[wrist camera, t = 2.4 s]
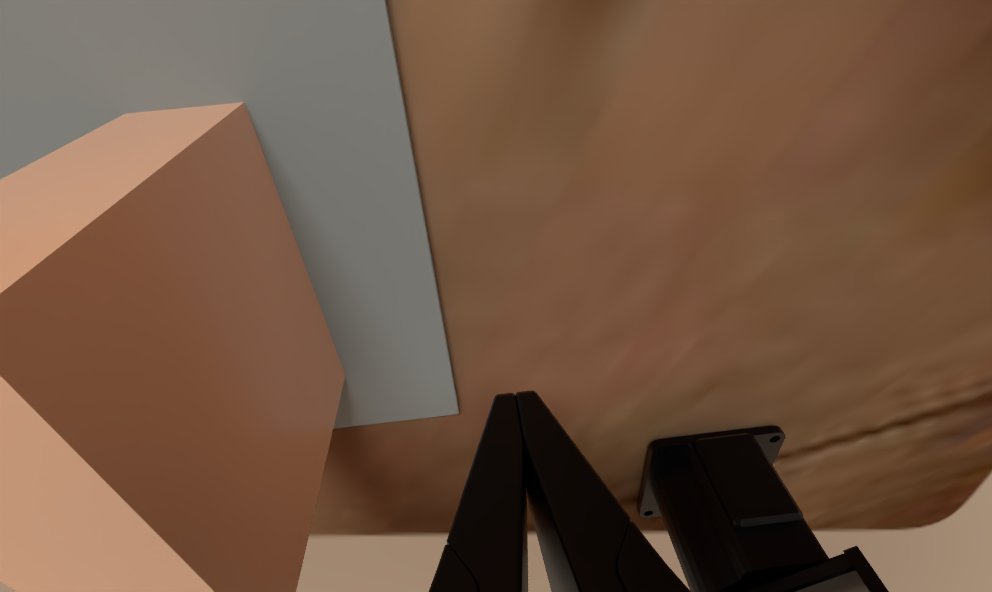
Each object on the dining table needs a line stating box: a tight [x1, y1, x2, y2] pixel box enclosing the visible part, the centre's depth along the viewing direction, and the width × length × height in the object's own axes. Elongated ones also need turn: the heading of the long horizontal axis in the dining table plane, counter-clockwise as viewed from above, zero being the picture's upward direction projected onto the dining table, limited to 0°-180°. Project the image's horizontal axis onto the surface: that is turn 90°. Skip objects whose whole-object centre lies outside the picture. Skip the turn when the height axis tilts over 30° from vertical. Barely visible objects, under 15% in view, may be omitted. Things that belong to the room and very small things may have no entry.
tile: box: [0, 102, 345, 592], centre depth 12 cm, size 10×3×9 cm, turn 4°
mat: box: [0, 0, 459, 429], centre depth 15 cm, size 16×20×1 cm
